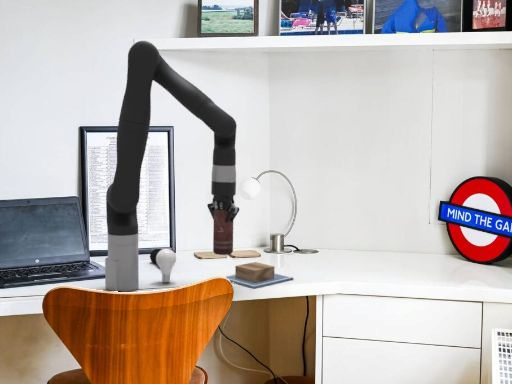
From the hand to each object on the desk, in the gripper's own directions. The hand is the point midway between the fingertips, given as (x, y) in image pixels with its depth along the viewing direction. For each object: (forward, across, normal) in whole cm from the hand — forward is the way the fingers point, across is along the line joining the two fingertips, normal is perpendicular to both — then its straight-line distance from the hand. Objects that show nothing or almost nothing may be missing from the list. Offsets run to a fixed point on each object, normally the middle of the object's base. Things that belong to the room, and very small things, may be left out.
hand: (222, 235), depth 208 cm
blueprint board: (+16, 0, +15) cm, 22 cm away
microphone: (+17, -35, +2) cm, 39 cm away
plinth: (+16, 0, +14) cm, 21 cm away
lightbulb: (+17, -16, -10) cm, 25 cm away
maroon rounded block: (+6, 0, 0) cm, 6 cm away
